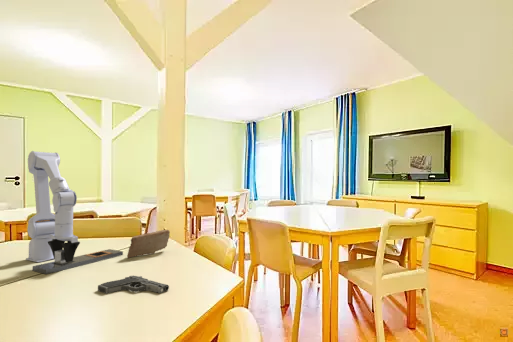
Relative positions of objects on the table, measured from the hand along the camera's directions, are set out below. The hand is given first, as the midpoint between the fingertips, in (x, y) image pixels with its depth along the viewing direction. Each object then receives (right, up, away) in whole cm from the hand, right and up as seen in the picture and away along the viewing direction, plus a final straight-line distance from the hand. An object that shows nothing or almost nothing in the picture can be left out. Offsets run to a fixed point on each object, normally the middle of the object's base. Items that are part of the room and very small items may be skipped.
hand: (63, 260), depth 110 cm
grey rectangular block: (0, -2, 0) cm, 2 cm away
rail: (+3, -3, +6) cm, 7 cm away
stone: (+25, -3, +18) cm, 31 cm away
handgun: (+36, -2, -24) cm, 44 cm away
